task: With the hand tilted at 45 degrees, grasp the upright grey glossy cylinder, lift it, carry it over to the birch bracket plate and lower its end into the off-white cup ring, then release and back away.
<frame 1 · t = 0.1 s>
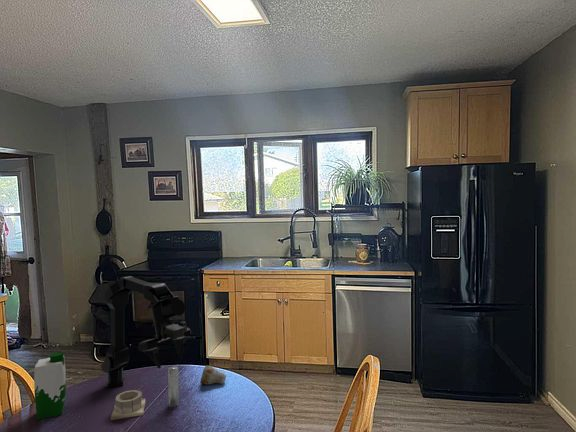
hand: (170, 363, 134), 15 cm above the table, tool pointing down, fingers open, 9 cm apart
milk carton: (51, 413, 132), on the table
flower patterned bottle: (213, 383, 152), on the table
grey glossy cylinder: (173, 404, 136), on the table
cup bracket: (129, 410, 133), on the table
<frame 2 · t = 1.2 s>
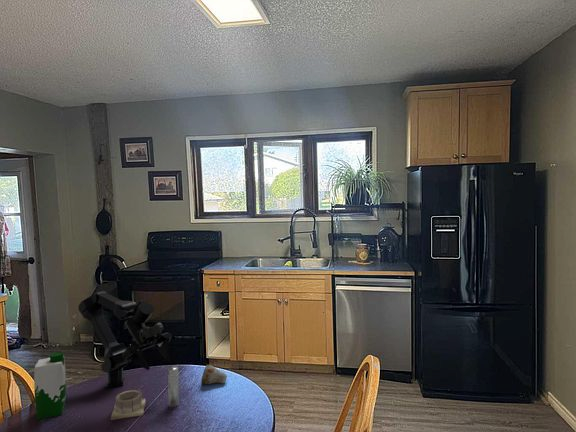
hand: (159, 364, 139), 13 cm above the table, tool tilted 45°, fingers open, 9 cm apart
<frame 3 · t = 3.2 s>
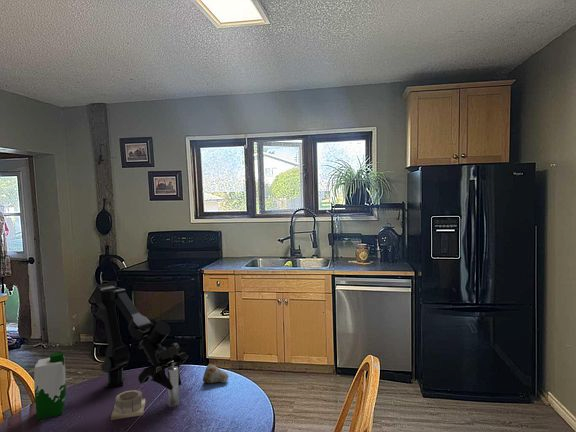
hand: (176, 387, 135), 7 cm above the table, tool tilted 45°, fingers closed on grey glossy cylinder, 4 cm apart
grey glossy cylinder: (173, 404, 136), on the table, touching gripper
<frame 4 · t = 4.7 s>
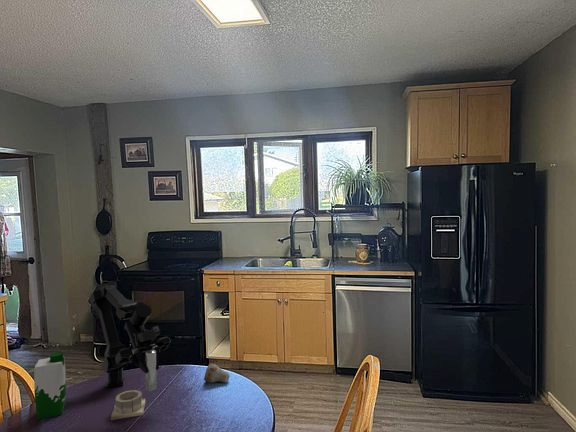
hand: (152, 371, 132), 13 cm above the table, tool tilted 45°, fingers closed on grey glossy cylinder, 4 cm apart
grey glossy cylinder: (151, 388, 133), point 7 cm above the table, touching gripper
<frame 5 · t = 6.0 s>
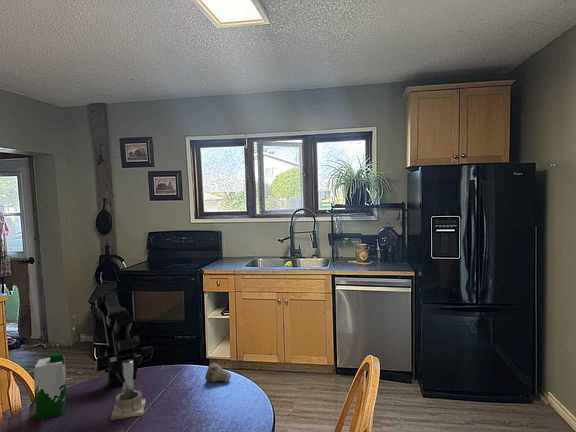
hand: (129, 381, 131), 11 cm above the table, tool tilted 45°, fingers closed on grey glossy cylinder, 4 cm apart
grey glossy cylinder: (128, 398, 133), point 4 cm above the table, touching gripper
when the fingers open (9 cm above the table, at t = 6.6 s): grey glossy cylinder drops 1 cm, resting on cup bracket.
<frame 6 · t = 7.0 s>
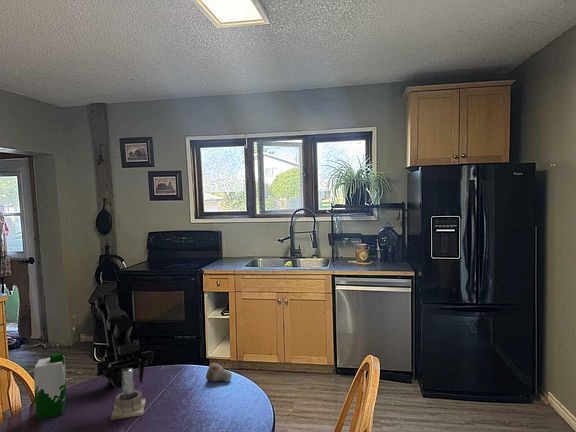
hand: (129, 385, 131), 9 cm above the table, tool tilted 45°, fingers open, 8 cm apart
grey glossy cylinder: (128, 407, 133), point 1 cm above the table, touching cup bracket
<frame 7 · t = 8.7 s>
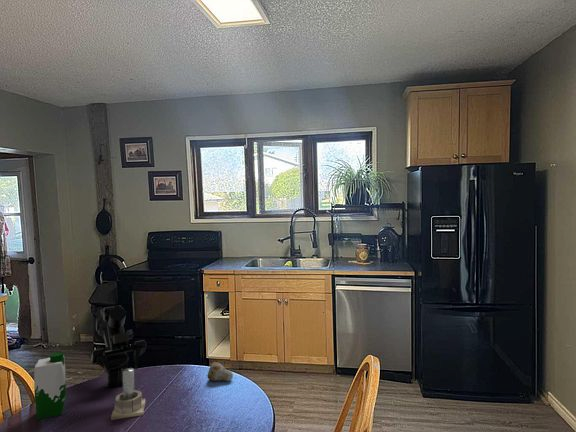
hand: (123, 372, 139), 11 cm above the table, tool tilted 45°, fingers open, 9 cm apart
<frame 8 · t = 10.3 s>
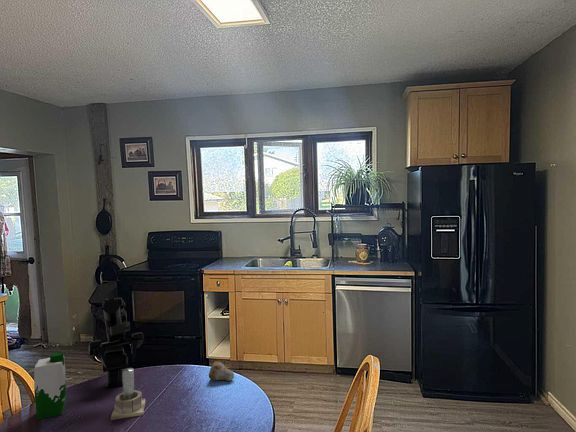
hand: (120, 364, 139), 14 cm above the table, tool tilted 45°, fingers open, 9 cm apart
at the end: grey glossy cylinder 0.0 cm off-centre on the cup bracket, point 1.0 cm above the cup bracket's base; grey glossy cylinder tilted 1°; the gripper is holding nothing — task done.
